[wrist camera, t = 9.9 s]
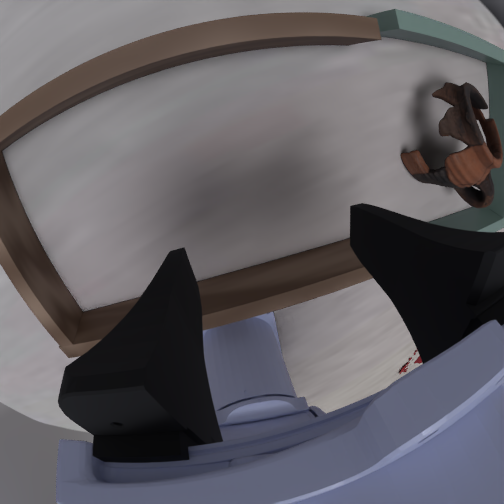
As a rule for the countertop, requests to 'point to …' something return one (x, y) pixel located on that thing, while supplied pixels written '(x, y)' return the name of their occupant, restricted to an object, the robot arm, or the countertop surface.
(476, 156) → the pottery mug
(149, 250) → the countertop surface
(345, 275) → the brown wooden frame
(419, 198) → the countertop surface
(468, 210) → the frame
